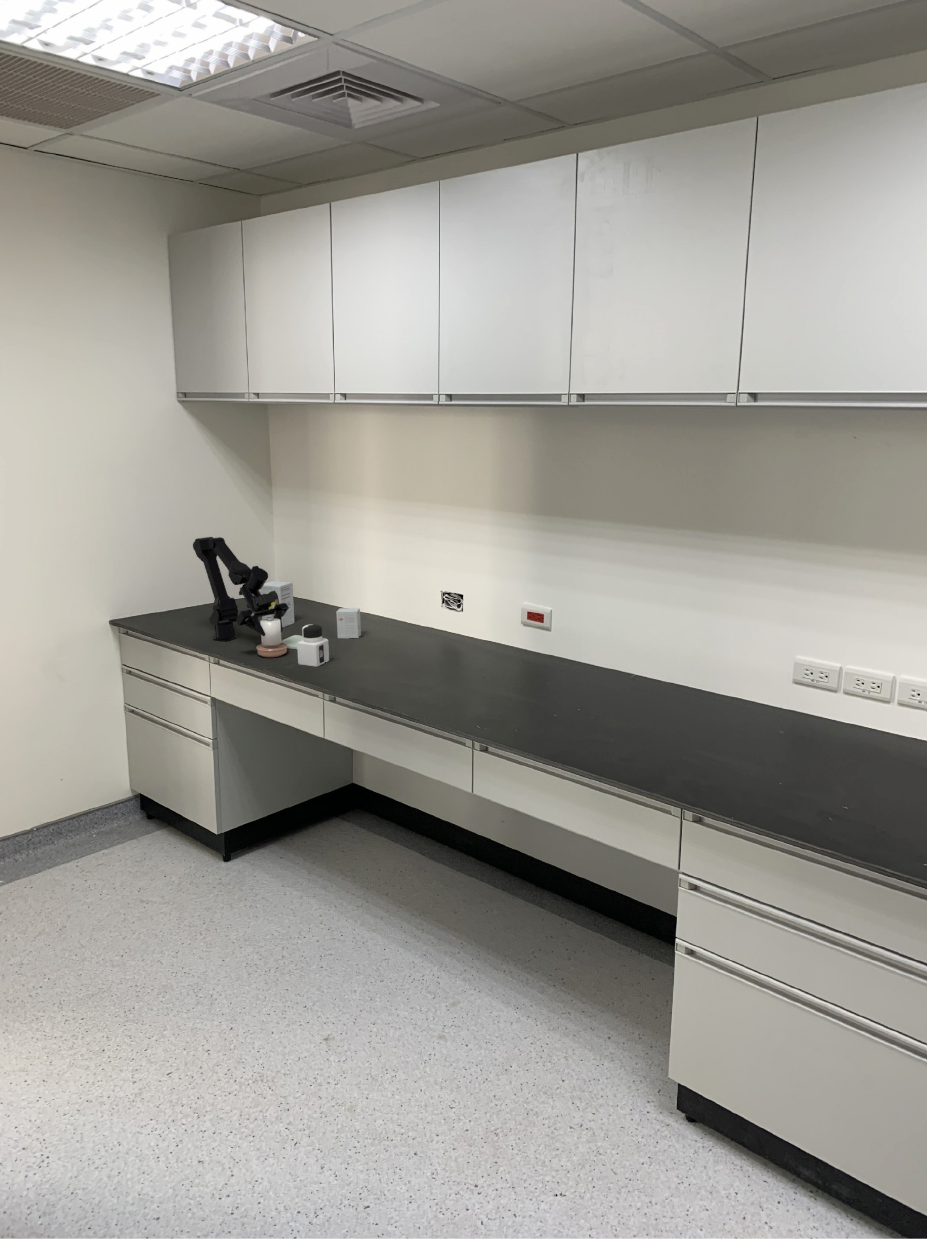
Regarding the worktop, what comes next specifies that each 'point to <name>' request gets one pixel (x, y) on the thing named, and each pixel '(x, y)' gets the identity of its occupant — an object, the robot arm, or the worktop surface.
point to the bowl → (272, 650)
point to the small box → (348, 623)
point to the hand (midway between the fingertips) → (273, 633)
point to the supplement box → (281, 599)
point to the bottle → (271, 631)
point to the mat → (293, 641)
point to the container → (312, 647)
